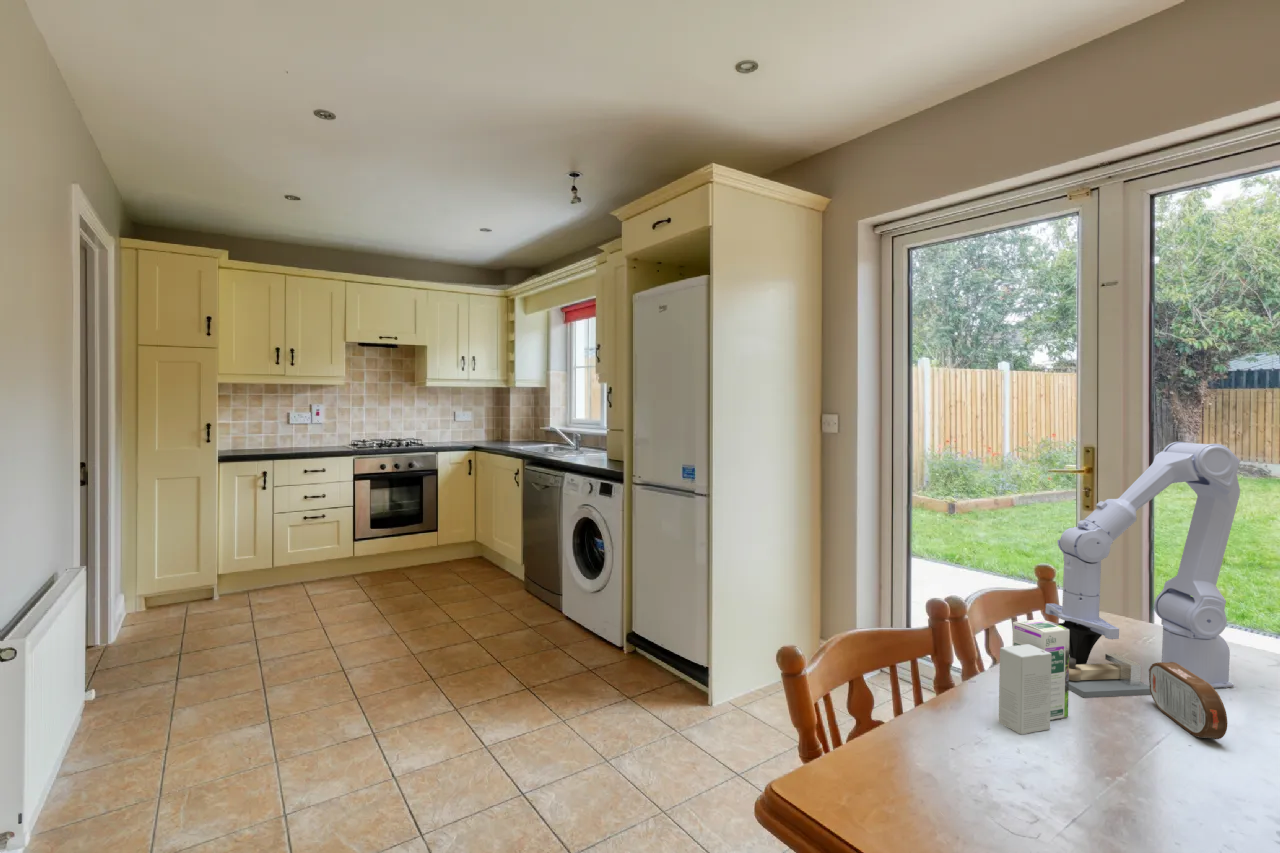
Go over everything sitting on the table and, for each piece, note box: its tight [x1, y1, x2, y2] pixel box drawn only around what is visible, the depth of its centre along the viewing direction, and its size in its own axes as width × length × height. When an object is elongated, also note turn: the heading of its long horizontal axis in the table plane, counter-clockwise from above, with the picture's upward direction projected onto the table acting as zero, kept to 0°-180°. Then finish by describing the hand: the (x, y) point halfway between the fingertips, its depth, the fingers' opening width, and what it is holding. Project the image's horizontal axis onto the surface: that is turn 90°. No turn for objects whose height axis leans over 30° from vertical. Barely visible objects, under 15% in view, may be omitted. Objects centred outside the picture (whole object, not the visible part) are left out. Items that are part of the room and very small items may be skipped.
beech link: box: [1069, 656, 1121, 681], centre depth 113 cm, size 12×3×3 cm, turn 97°
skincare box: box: [998, 644, 1052, 735], centre depth 97 cm, size 6×4×12 cm
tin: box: [1148, 661, 1228, 740], centre depth 99 cm, size 15×3×8 cm, turn 168°
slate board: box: [1068, 679, 1152, 699], centre depth 114 cm, size 14×11×1 cm
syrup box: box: [1011, 618, 1070, 721], centre depth 102 cm, size 6×6×14 cm
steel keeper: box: [1104, 653, 1142, 686], centre depth 113 cm, size 2×5×4 cm, turn 7°
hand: (1078, 663), depth 118 cm, fingers closed
